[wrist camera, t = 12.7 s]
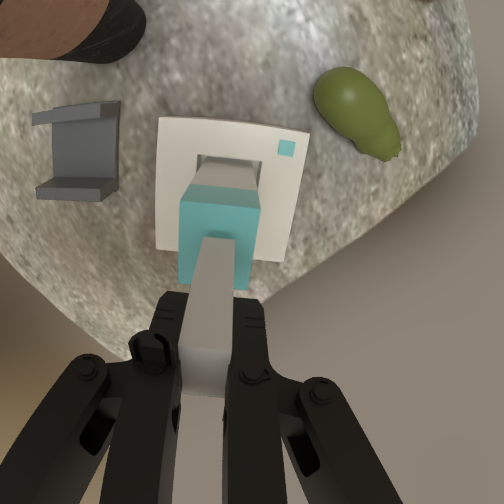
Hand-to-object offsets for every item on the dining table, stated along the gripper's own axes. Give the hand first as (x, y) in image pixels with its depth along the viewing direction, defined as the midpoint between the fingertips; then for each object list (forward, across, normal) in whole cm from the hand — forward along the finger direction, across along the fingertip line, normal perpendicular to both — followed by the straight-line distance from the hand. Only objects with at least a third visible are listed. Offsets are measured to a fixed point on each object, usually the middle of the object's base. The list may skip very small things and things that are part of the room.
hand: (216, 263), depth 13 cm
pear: (+14, +10, +9) cm, 20 cm away
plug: (+13, 0, 0) cm, 13 cm away
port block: (+14, 0, 0) cm, 14 cm away
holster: (+14, -15, +3) cm, 21 cm away
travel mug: (+14, -13, +15) cm, 24 cm away
